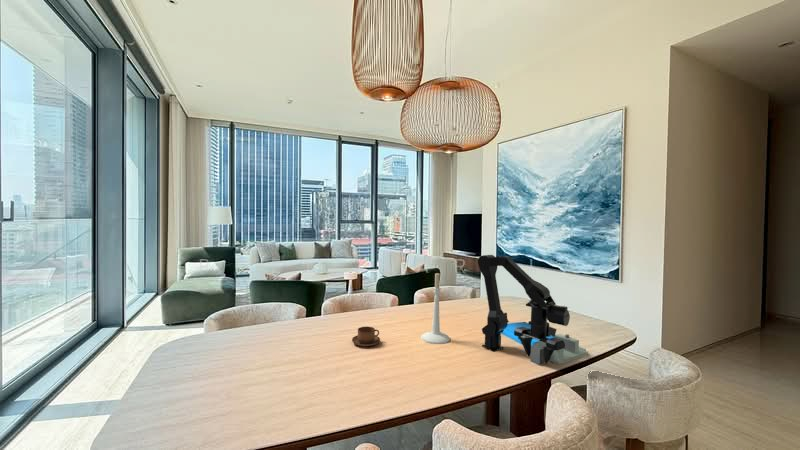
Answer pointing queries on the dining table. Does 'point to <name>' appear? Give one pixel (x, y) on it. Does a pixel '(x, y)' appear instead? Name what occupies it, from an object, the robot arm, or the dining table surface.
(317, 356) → the dining table surface
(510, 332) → the book
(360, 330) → the cup and saucer
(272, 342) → the dining table surface
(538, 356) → the block
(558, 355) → the vise
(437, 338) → the candlestick
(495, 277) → the robot arm
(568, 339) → the jaw
